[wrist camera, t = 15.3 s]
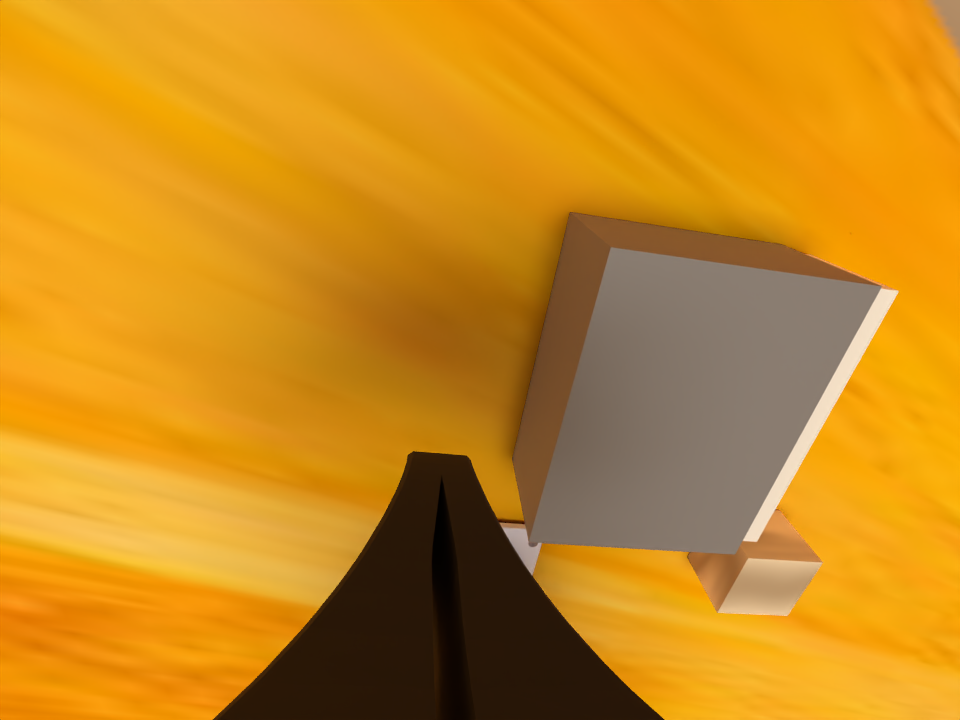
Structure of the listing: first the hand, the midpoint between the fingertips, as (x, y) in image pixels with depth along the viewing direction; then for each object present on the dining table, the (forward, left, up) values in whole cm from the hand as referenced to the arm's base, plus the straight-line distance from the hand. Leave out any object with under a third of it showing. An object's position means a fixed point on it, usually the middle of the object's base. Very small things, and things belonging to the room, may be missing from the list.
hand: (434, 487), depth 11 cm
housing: (-1, -10, -10) cm, 14 cm away
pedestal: (-11, -18, -10) cm, 24 cm away
